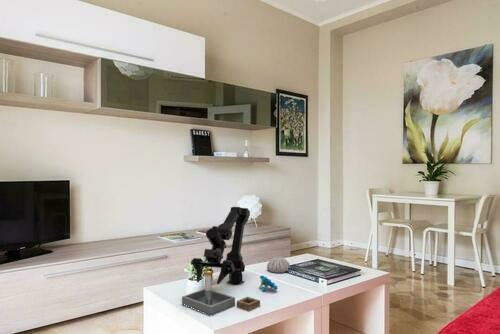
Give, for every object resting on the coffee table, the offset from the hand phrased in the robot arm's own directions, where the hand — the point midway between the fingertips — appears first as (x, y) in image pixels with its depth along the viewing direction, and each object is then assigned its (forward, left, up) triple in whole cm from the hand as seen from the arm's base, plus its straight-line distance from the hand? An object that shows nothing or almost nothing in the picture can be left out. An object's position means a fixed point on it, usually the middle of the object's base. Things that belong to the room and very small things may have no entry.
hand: (207, 282), depth 151 cm
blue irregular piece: (+7, +33, -10) cm, 35 cm away
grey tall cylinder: (0, +1, -9) cm, 9 cm away
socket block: (+14, +11, -10) cm, 20 cm away
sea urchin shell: (-8, +63, -10) cm, 64 cm away
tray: (0, +1, -10) cm, 10 cm away
